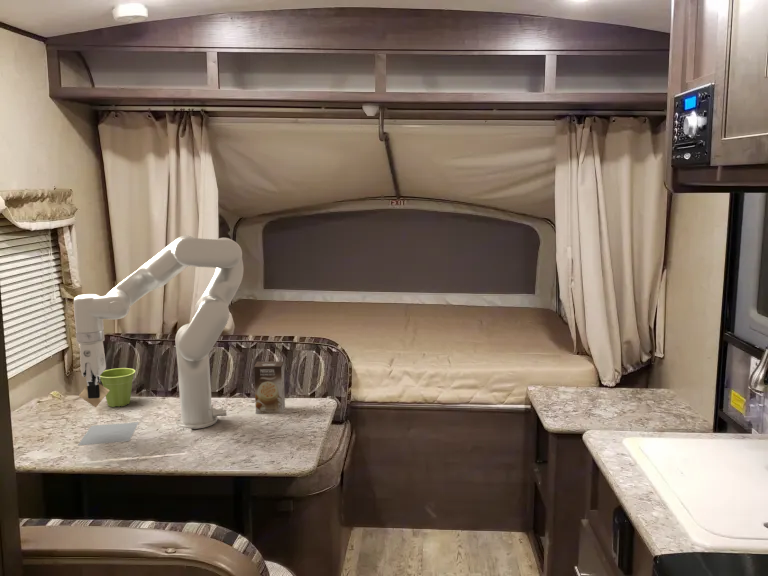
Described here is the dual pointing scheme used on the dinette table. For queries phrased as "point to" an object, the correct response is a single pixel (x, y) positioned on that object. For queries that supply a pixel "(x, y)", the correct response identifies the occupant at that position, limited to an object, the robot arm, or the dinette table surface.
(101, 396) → the tile
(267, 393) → the coffee box
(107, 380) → the plant pot
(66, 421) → the dinette table surface
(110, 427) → the mat
